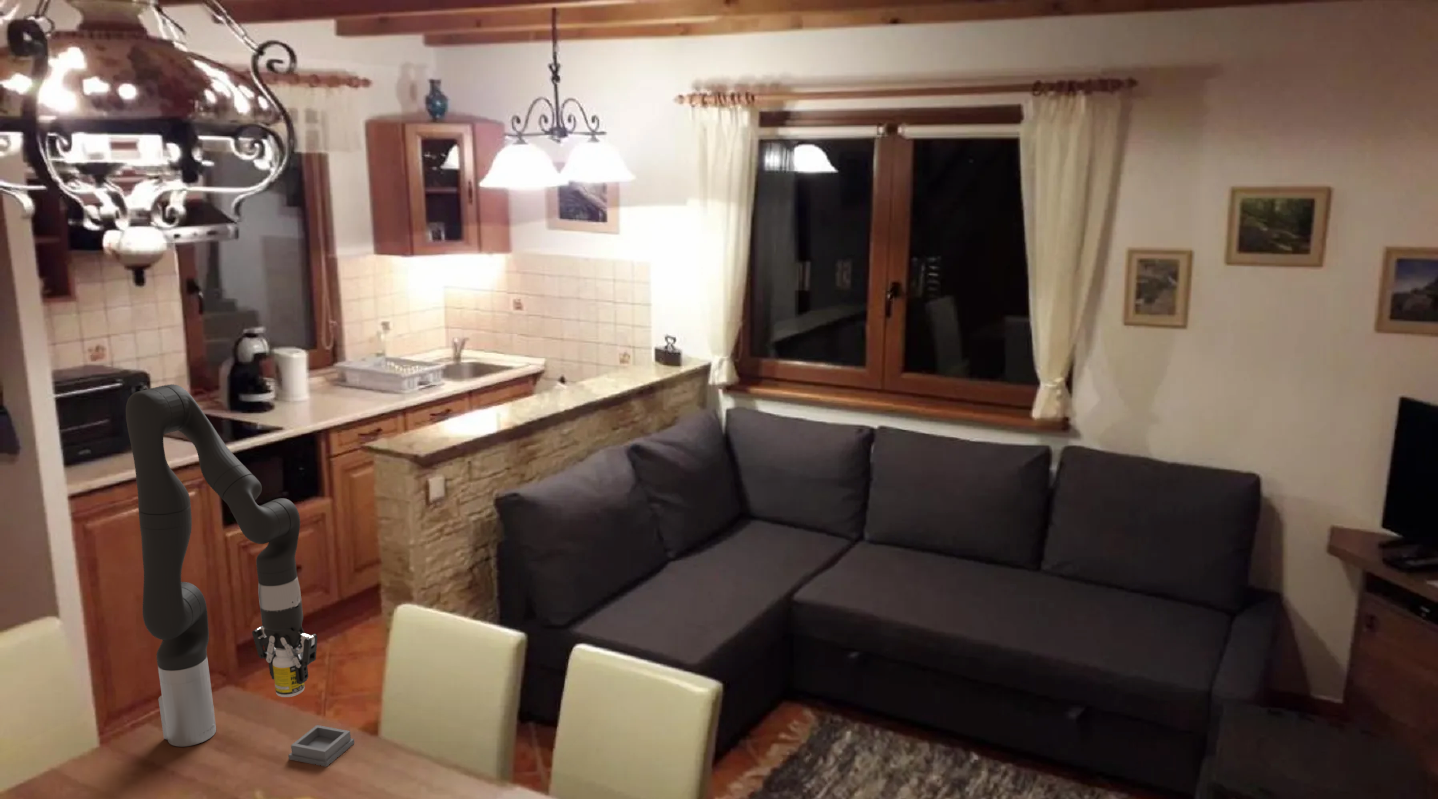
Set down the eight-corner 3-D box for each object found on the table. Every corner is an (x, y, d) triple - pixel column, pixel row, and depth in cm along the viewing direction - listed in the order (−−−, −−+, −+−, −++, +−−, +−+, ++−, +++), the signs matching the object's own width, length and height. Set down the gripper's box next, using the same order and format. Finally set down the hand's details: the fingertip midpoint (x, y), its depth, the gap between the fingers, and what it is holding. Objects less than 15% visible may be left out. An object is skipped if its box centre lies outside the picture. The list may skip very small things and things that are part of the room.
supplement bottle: (294, 699, 210) (289, 653, 208) (270, 696, 211) (264, 651, 209) (310, 686, 215) (305, 641, 213) (286, 683, 216) (281, 638, 214)
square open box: (289, 759, 217) (287, 746, 216) (317, 736, 225) (316, 723, 224) (326, 766, 214) (325, 753, 213) (354, 743, 222) (353, 730, 222)
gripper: (236, 604, 207) (246, 683, 211) (298, 613, 203) (307, 694, 207) (263, 589, 214) (273, 666, 218) (323, 597, 210) (332, 676, 214)
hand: (289, 679), depth 212 cm, fingers closed on supplement bottle, 5 cm apart
